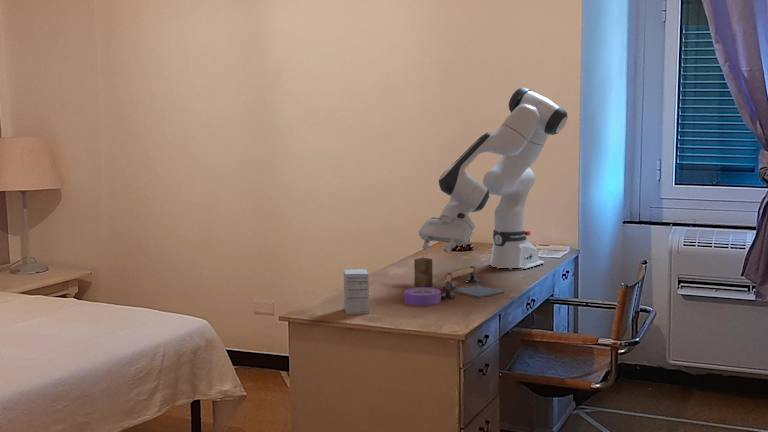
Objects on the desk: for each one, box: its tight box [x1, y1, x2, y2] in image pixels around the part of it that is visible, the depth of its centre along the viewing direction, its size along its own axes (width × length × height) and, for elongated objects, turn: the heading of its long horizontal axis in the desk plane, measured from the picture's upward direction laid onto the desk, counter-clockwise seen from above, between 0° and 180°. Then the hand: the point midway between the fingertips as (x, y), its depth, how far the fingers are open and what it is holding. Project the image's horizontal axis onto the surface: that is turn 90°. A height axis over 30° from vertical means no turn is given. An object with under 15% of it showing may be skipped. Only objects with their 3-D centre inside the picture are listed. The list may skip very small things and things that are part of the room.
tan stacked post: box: [413, 256, 433, 288], centre depth 314 cm, size 4×4×10 cm
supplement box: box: [343, 268, 370, 315], centre depth 279 cm, size 7×7×13 cm
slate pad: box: [453, 285, 505, 299], centre depth 305 cm, size 12×12×1 cm
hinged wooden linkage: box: [441, 265, 479, 300], centre depth 310 cm, size 32×8×6 cm, turn 158°
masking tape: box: [403, 286, 442, 307], centre depth 292 cm, size 12×12×4 cm
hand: (435, 250), depth 316 cm, fingers open, 8 cm apart
